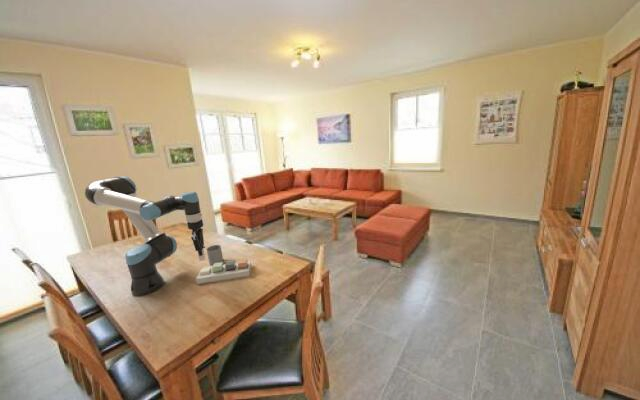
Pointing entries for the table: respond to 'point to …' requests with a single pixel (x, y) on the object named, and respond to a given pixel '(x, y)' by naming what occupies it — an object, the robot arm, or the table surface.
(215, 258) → the cup
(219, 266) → the key sage
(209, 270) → the key cream
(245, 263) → the key terracotta
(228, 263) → the key charcoal
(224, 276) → the keypad
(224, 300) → the table surface
